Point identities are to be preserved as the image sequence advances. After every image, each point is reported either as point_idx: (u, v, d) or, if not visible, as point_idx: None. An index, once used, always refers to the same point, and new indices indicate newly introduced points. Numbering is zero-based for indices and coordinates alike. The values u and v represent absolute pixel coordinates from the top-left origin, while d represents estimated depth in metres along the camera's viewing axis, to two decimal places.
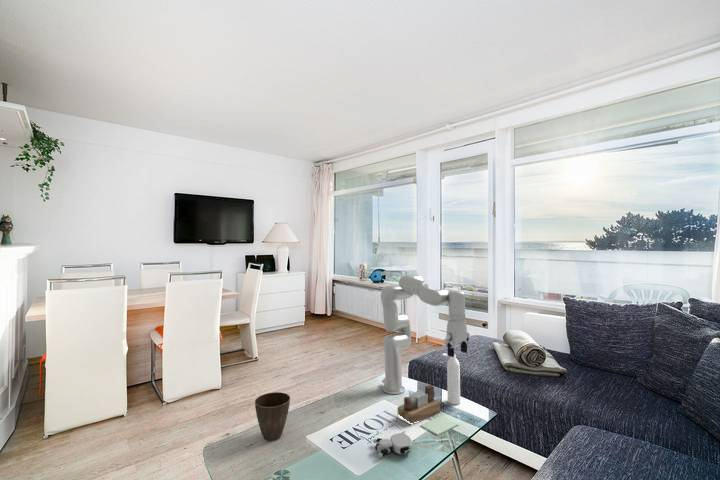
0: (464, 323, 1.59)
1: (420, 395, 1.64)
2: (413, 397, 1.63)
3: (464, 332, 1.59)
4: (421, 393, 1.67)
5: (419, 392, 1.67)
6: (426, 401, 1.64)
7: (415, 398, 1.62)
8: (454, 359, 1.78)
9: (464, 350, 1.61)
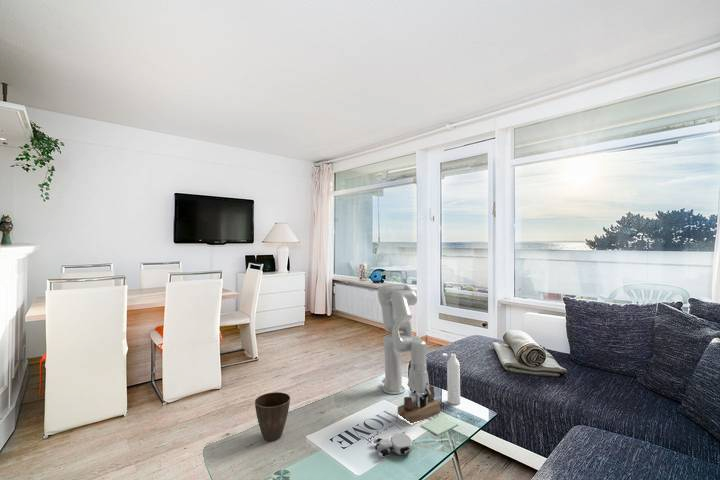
0: None
1: (420, 395, 1.64)
2: (413, 397, 1.63)
3: None
4: None
5: None
6: (426, 401, 1.64)
7: (415, 398, 1.62)
8: (454, 359, 1.78)
9: None
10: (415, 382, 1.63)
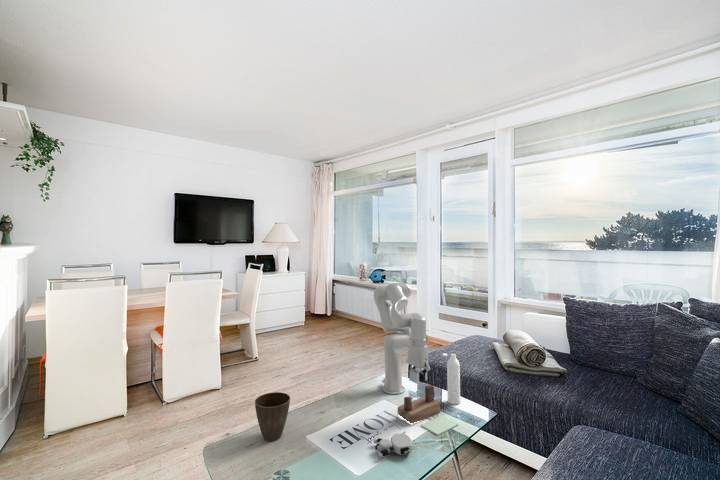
0: None
1: (419, 370, 1.64)
2: (412, 372, 1.64)
3: None
4: None
5: (418, 368, 1.68)
6: (425, 376, 1.65)
7: (414, 373, 1.63)
8: (454, 359, 1.78)
9: None
10: (414, 357, 1.64)
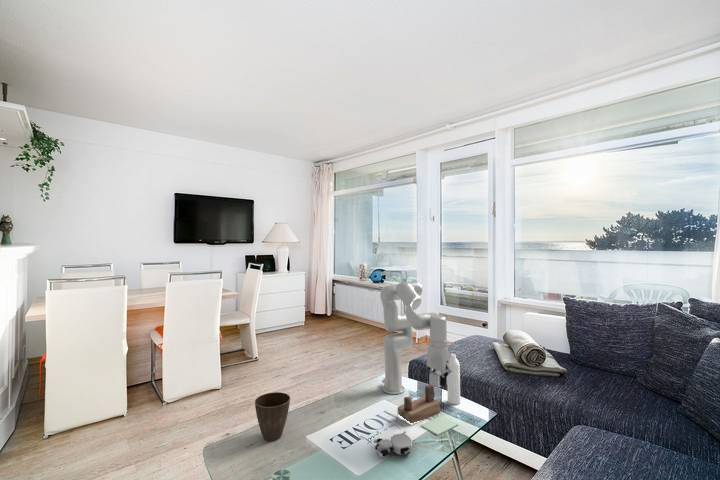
0: None
1: (440, 374, 1.54)
2: (433, 376, 1.54)
3: None
4: (440, 371, 1.57)
5: (438, 371, 1.58)
6: None
7: (435, 376, 1.52)
8: (454, 359, 1.78)
9: None
10: (435, 360, 1.54)
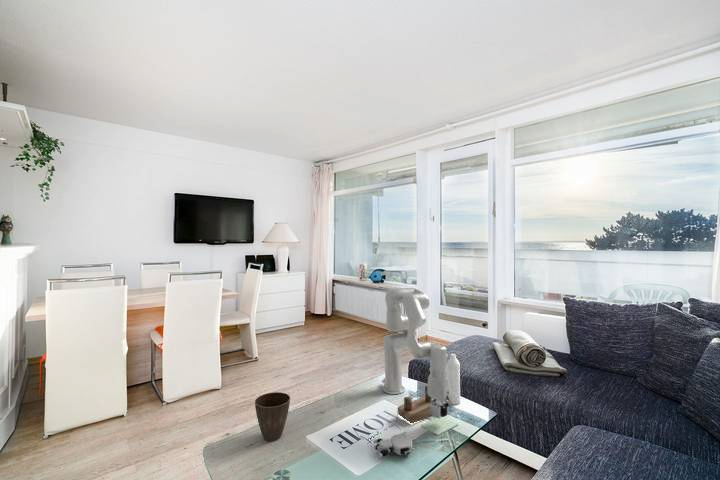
0: None
1: (440, 404, 1.54)
2: (433, 406, 1.53)
3: None
4: None
5: None
6: (447, 410, 1.54)
7: (435, 407, 1.52)
8: (454, 359, 1.78)
9: None
10: (435, 390, 1.53)
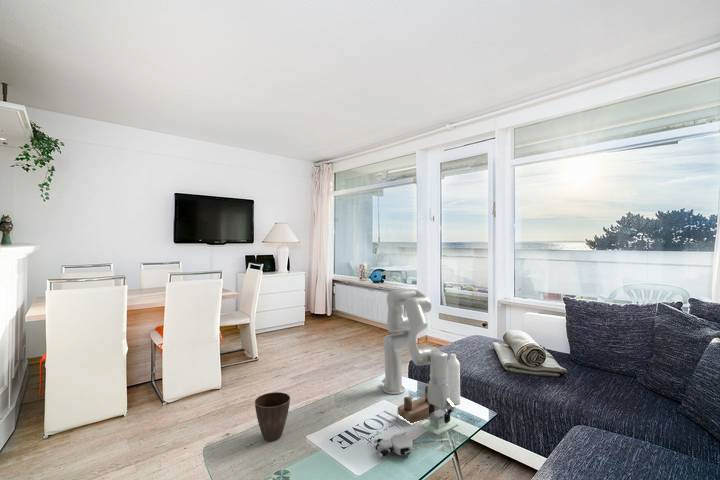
0: None
1: (440, 414, 1.54)
2: (433, 416, 1.53)
3: None
4: (441, 411, 1.56)
5: (439, 411, 1.57)
6: None
7: (435, 418, 1.52)
8: (454, 359, 1.78)
9: None
10: (435, 396, 1.53)
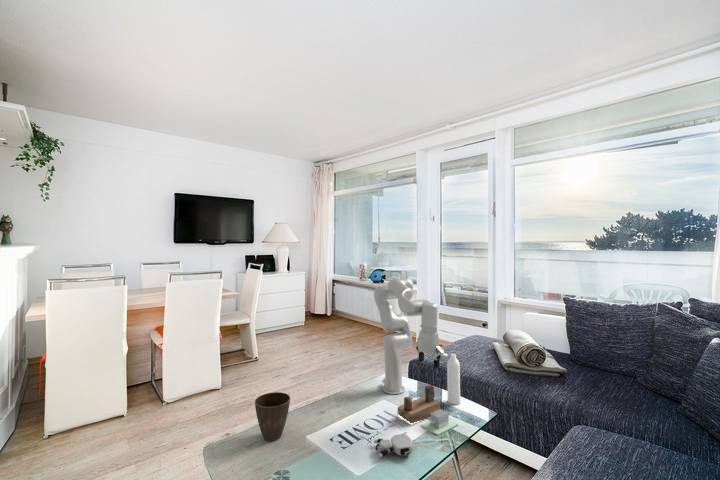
0: None
1: (440, 414, 1.54)
2: (433, 416, 1.53)
3: None
4: (441, 411, 1.56)
5: (439, 411, 1.57)
6: (447, 420, 1.54)
7: (435, 418, 1.52)
8: (454, 359, 1.78)
9: (422, 359, 1.68)
10: (425, 344, 1.62)
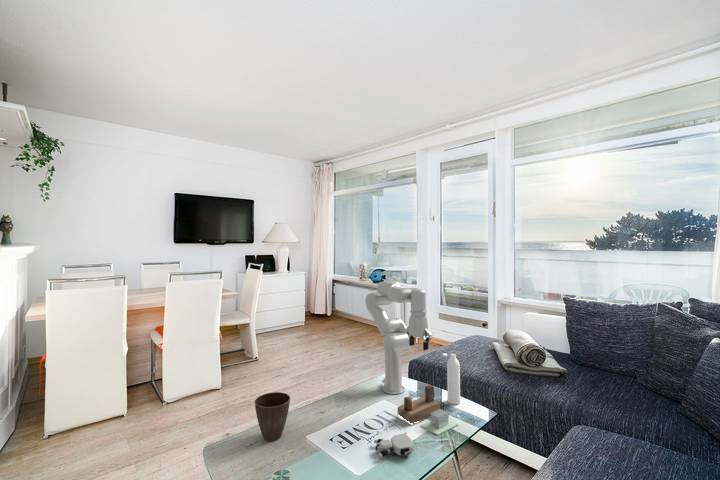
0: None
1: (440, 414, 1.54)
2: (433, 416, 1.53)
3: None
4: (441, 411, 1.56)
5: (439, 411, 1.57)
6: (447, 420, 1.54)
7: (435, 418, 1.52)
8: (454, 359, 1.78)
9: (413, 343, 1.78)
10: (415, 328, 1.72)
